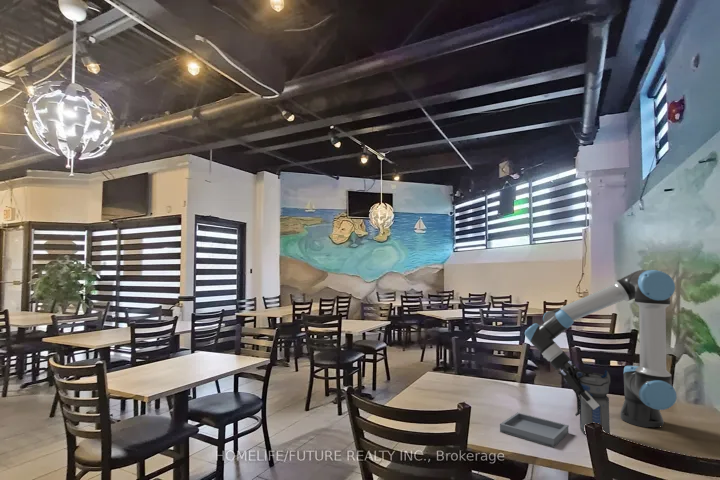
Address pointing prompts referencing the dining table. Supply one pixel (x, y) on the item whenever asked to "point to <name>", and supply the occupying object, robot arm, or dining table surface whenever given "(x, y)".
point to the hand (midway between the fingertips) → (600, 404)
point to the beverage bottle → (598, 390)
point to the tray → (534, 429)
